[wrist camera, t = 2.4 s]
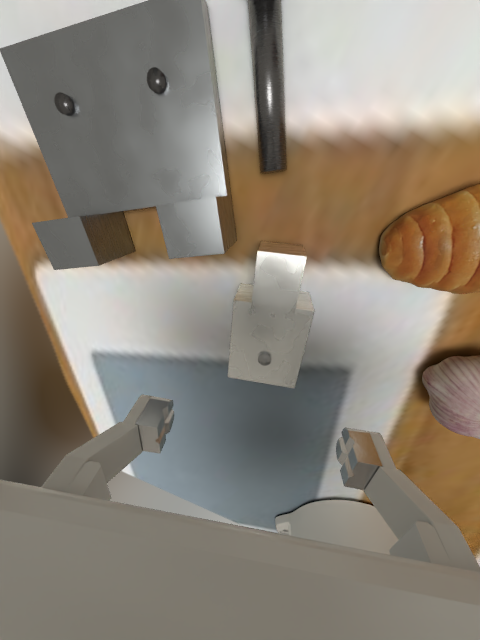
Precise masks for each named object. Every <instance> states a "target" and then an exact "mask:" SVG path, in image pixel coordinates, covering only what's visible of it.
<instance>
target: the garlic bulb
mask: <svg viewBox="0 0 480 640" xmlns="http://www.w3.org/2000/svg"><path fill="white" fill-rule="evenodd" d="M422 381H423V384H424V386H425V388H426V389H427V391H428V393H429V396H430V400H429V406H430V410H431V412H432V414H433V416H434V417H435V419H436V420H437V421H438V422H439V423H440V424H442V425H443V426H444V427H446V428H447V429H449V430H451V431H453V432H455V433H458V434H461V435H465V436H471V437H475V438H478V439H480V356H470V357H462V356H452V357H449V358H447V359H445V360H443V361H441V362H440V363H439V364H436V365H432V366H430V367H428V368H427V369H426V370H425V371H424V373H423V376H422Z"/></svg>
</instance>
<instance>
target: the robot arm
mask: <svg viewBox="0 0 480 640" xmlns="http://www.w3.org/2000/svg"><path fill="white" fill-rule="evenodd" d="M172 407H173V400H170V399H165V398H159V397H154V396H148V395H143V394H142V395H141V396H140V397H139V398H138V400H137V401H136V403H135V405H134V406H133V408H132V409H131V411H130V412H129V414H128V415H127V417H126V418H125V420H124V422H119V423H117V424H116V425H114V426H113V427H111V428H109V429H108V430H106V431H105V432H103V433H101V434H100V435H98V436H96V437H95V438H93V439H92V440H90V441H88V442H87V443H85V444H83V445H82V446H81V447H79V448H77V449H75V450H74V451H72V452H71V453H69V454H67V455H66V456H65V457H64V459H63V460H62V461H61V462H60V464H59V465H58V466H57V468H56V469H55V470H54V471H53V473H52V474H51V475H50V476H49V478H48V479H47V480H46V482H45V483H44V484H43V485H42V487H41V488H40V487H36V486H30V485H25V484H20V483H15V482H10V481H5V480H0V640H480V567H479V565H478V563H477V561H476V559H475V557H474V556H473V554H472V552H471V550H470V548H469V546H468V544H467V543H466V541H465V539H464V537H463V535H462V533H461V532H460V530H459V528H458V527H457V526H456V525H455V524H454V523H453V522H452V521H451V520H450V519H449V518H448V517H447V516H446V515H445V514H444V513H443V512H442V511H441V510H440V509H439V508H438V507H437V506H436V505H435V504H434V503H433V502H432V501H431V500H430V499H429V498H428V497H427V496H426V495H425V494H424V493H423V492H422V491H421V490H420V489H419V488H418V487H417V486H416V485H415V484H414V483H413V482H412V481H411V480H410V479H409V478H408V477H407V476H406V475H405V474H404V473H403V472H402V471H401V470H398V469H396V467H395V465H394V463H393V460H392V458H391V456H390V454H389V451H388V449H387V447H386V445H385V442H384V440H383V438H382V436H381V435H380V433H375V432H369V431H364V430H357V429H351V428H344V429H343V431H342V436H343V437H341V438H339V439H338V442H337V446H336V453H337V458H338V461H339V462H340V463H341V465H342V468H341V470H340V471H341V475H342V479H343V484H344V486H346V487H351V488H356V489H361V490H364V492H365V494H366V495H367V496H368V498H369V499H370V501H371V502H372V504H373V505H374V506H375V507H374V506H372V505H368V504H365V503H361V502H355V501H348V500H324V501H317V502H313V503H309V504H306V505H304V506H302V507H300V508H299V509H297V510H296V511H294V512H292V513H289V514H285V515H281V516H278V517H276V518H275V524H276V529H277V531H278V533H274V532H269V531H264V530H259V529H253V528H248V527H243V526H238V525H233V524H227V523H222V522H217V521H212V520H207V519H202V518H196V517H191V516H185V515H181V514H176V513H171V512H165V511H160V510H155V509H149V508H144V507H139V506H134V505H129V504H124V503H118V502H113V501H110V499H111V495H110V491H109V488H108V485H107V483H108V482H109V481H110V480H111V479H112V478H113V477H115V476H116V475H117V474H118V473H119V472H120V471H121V470H122V469H124V468H125V467H126V466H127V465H128V464H129V463H130V462H131V461H133V460H134V459H135V458H136V457H137V456H138V455H139V454H141V453H142V451H147V452H154V453H161V451H162V448H163V446H164V444H165V441H166V434H167V433H168V432H170V430H171V427H172V424H173V420H174V411H173V410H172Z"/></svg>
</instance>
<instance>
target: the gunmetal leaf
mask: <svg viewBox="0 0 480 640" xmlns="http://www.w3.org/2000/svg"><path fill="white" fill-rule="evenodd" d="M0 52H1V54H2V57H3V59H4V62H5V64H6V66H7V69H8V71H9V74H10V76H11V79H12V81H13V83H14V86H15V88H16V91H17V93H18V96H19V98H20V101H21V103H22V105H23V108H24V110H25V113H26V115H27V118H28V120H29V122H30V125H31V127H32V130H33V132H34V135H35V137H36V140H37V142H38V144H39V147H40V149H41V152H42V154H43V157H44V159H45V162H46V164H47V166H48V169H49V171H50V174H51V176H52V179H53V181H54V183H55V186H56V188H57V191H58V193H59V196H60V198H61V201H62V203H63V205H64V208H65V210H66V213H67V215H68V218H64V219H57V220H50V221H43V222H36V223H32V224H33V226H34V228H35V230H36V233H37V235H38V237H39V239H40V241H41V243H42V245H43V247H44V249H45V251H46V254H47V256H48V258H49V260H50V262H51V264H52V266H53V268H54V270H58V269H69V268H79V267H89V266H99V265H102V264H104V263H107V262H109V261H112V260H114V259H117V258H119V257H122V256H124V255H127V254H129V253H132V252H134V251H135V248H134V245H133V242H132V239H131V236H130V232H129V229H128V226H127V223H126V220H125V217H124V213H123V211H128V210H135V209H142V208H149V207H156V209H157V213H158V216H159V220H160V224H161V228H162V232H163V236H164V240H165V244H166V248H167V252H168V256H169V259H173V258H183V257H193V256H204V255H214V254H224V253H225V252H226V251H227V250H228V249H229V248H230V247H231V246H232V245H233V244H234V243H235V242H236V241H237V237H236V229H235V221H234V213H233V205H232V197H231V189H230V181H229V173H228V165H227V157H226V149H225V141H224V133H223V125H222V117H221V109H220V101H219V93H218V86H217V78H216V70H215V62H214V54H213V46H212V38H211V30H210V22H209V14H208V6H207V3H206V1H205V0H148V1H145V2H142V3H139V4H136V5H133V6H130V7H127V8H124V9H121V10H118V11H114V12H111V13H108V14H105V15H102V16H99V17H96V18H93V19H90V20H87V21H84V22H81V23H78V24H74V25H71V26H68V27H65V28H62V29H59V30H56V31H53V32H50V33H47V34H44V35H41V36H38V37H34V38H31V39H28V40H25V41H22V42H19V43H16V44H13V45H10V46H7V47H4V48H1V49H0Z"/></svg>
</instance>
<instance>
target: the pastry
mask: <svg viewBox="0 0 480 640" xmlns="http://www.w3.org/2000/svg"><path fill="white" fill-rule="evenodd" d="M379 254H380V258H381V263H382V267H383V268H384V269H385V270H386V271H387V272H388V274H389V275H390V276H391V277H392V278H393V279H395V280H400V281H403V282H408V283H412V284H414V285H415V286H417V287H422V288H432V289H436V290H440V291H448V292H451V293H454V294H467V293H473V292H480V184H477V185H474V186H471V187H468V188H466V189H464V190H461V191H459V192H456V193H454V194H451V195H449V196H446V197H444V198H441V199H438V200H436V201H434V202H431V203H428V204H425V205H423V206H420V207H418V208H416V209H413V210H411V211H409V212H407V213H406V214H404V215H403V216H401V217H400V218H399V219H397V220H396V221H394V222H393V223H392V224H390V225H389V226H388V227H387V228H386V230H385V231H384V232H383V234H382V236H381V239H380V245H379Z"/></svg>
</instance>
